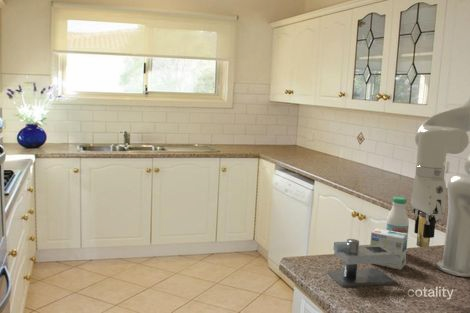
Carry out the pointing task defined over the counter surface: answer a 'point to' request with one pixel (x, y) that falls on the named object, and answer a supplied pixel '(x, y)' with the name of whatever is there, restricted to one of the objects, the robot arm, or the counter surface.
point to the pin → (420, 239)
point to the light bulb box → (391, 245)
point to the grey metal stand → (361, 255)
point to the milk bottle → (398, 216)
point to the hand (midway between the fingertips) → (423, 234)
